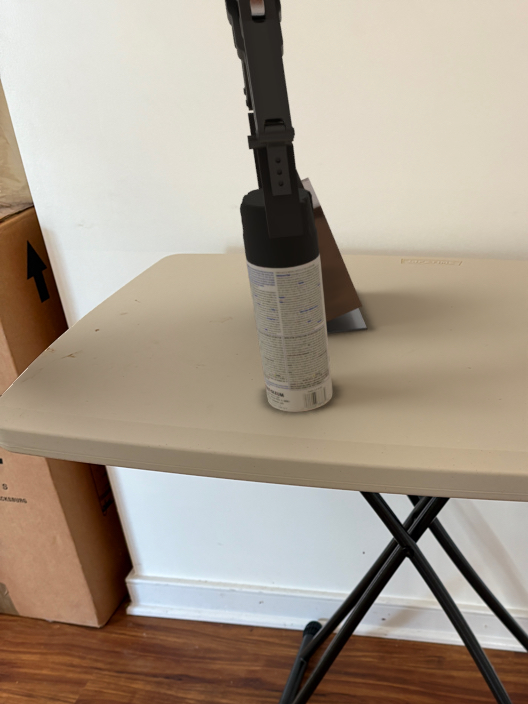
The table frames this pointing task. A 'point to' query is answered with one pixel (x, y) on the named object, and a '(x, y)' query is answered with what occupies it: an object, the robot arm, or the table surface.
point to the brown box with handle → (331, 265)
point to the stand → (346, 323)
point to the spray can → (288, 307)
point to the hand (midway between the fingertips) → (279, 212)
